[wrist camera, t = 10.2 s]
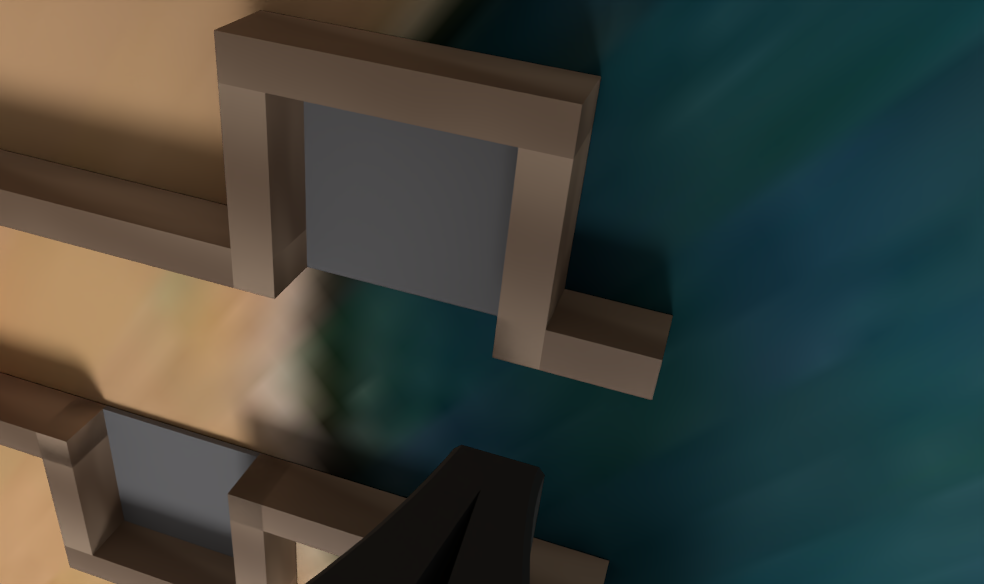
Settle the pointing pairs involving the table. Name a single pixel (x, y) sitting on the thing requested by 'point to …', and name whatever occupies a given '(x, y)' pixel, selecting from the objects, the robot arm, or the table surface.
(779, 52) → the table surface
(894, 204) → the table surface
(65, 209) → the trap lane
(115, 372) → the table surface
